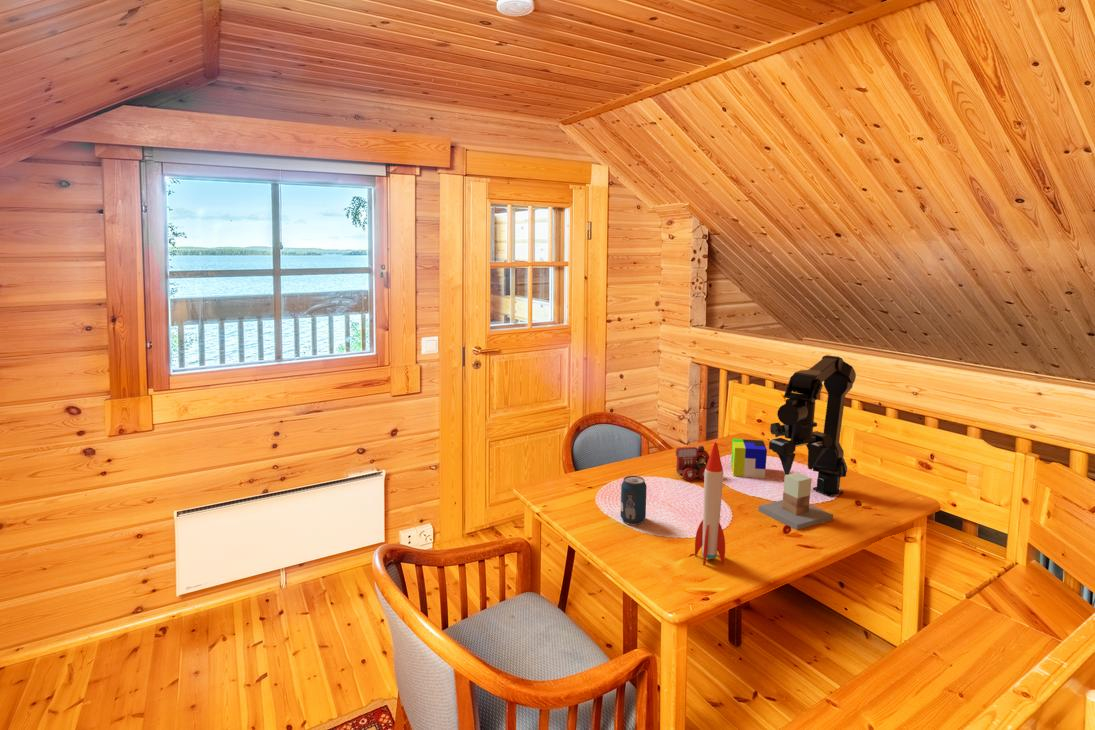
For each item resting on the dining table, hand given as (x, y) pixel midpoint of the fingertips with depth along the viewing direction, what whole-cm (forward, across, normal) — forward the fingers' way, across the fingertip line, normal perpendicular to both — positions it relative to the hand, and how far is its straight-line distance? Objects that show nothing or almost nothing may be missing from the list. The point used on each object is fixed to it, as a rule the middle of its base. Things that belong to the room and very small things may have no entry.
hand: (798, 471), depth 178 cm
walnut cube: (+12, 0, 0) cm, 12 cm away
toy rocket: (+13, +39, +9) cm, 42 cm away
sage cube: (+6, 0, 0) cm, 6 cm away
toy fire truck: (+13, +6, -37) cm, 40 cm away
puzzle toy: (+13, -13, -32) cm, 37 cm away
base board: (+13, 0, 0) cm, 13 cm away
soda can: (+13, +43, -18) cm, 48 cm away
